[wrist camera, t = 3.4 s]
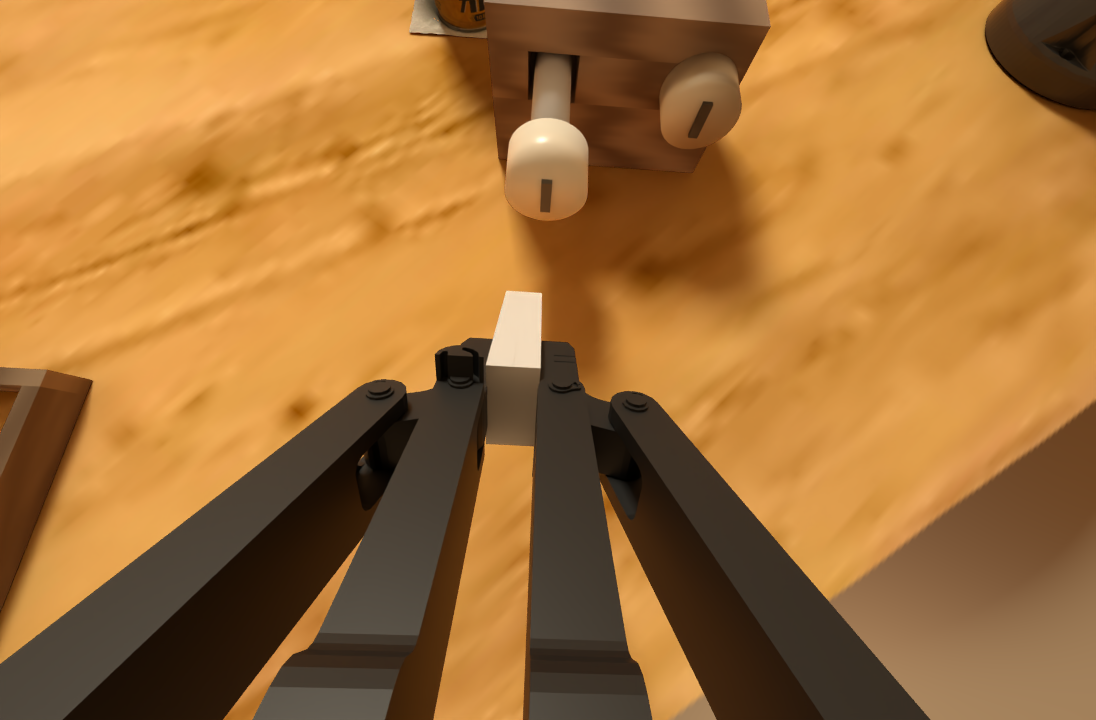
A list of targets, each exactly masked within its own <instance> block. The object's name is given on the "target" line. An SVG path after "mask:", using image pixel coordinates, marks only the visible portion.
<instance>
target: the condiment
mask: <svg viewBox="0 0 1096 720" xmlns="http://www.w3.org/2000/svg"><path fill="white" fill-rule="evenodd" d="M434 18H435V19H434ZM437 20H439V21H437ZM409 32H413V33H416V32H420V33H427V34H428V33H434V34H445V35H454V36H460V37H474V38H475V37H477V38H487V29H486V18H485V7H484V0H415V3H414V11H413V14H412V21H411V25H410V31H409Z"/></svg>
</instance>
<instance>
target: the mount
mask: <svg viewBox="0 0 1096 720" xmlns="http://www.w3.org/2000/svg"><path fill="white" fill-rule="evenodd" d="M484 7H485V18H486V29H487V40H488V50H489V61H490V72H491V83H492V93H493V104H494V115H495V126H496V136H497V147H498V158H499V159H507V158H508V147H509V142H510V139H511V137H512V135H513V133H514V132H515V131H516V130H517V129H518V128H519V127H520V126H522V125H523V124H525V123H527V122H529V121H531V112H532V99H533V86H534V72H535V59H536V52H544V53H556V54H569V55H572V70H571V96H570V123H569V124H571V125H573V126H574V127H576V128H577V129H578V130H579V131H580V132H581V133H582V134H583V136H584V138H585V139H586V142H587V145H588V165H592V166H605V167H619V168H633V169H646V170H660V171H674V172H687V173H693V171H694V169H695V167H696V166H697V164H698V162H699V160H700V158H701V156H702V154H703V152H704V151H705V149H706V147H707V146H708V145H710V144H712V143H714V142H716V141H718V140H719V139H721V138H722V137H724V136H725V135H726V134H727V133H728V132H729V131H730V130H731V129H732V128H733V127H734V125H735V124H736V122H737V121H738V119H739V116H740V113H741V108H742V103H741V96H740V88H739V85H740V83H741V81H742V79H743V77H744V75H745V74H746V72H747V70H748V68H749V66H750V64H751V62H752V60H753V59H754V57H755V55H756V53H757V51H758V49H759V47H760V45H761V44H762V42H763V40H764V38H765V36H766V34H767V32H768V30H769V29H770V27H771V26H770V20H769V14H768V9H767V3H766V0H484Z"/></svg>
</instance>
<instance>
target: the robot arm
mask: <svg viewBox="0 0 1096 720" xmlns="http://www.w3.org/2000/svg"><path fill="white" fill-rule="evenodd" d="M985 30H986V38H987V41H988V44H989V46H990V49H991V50H992V52H993V54H994V55H995V57H996V58H997V60H998V61H999V62H1000V64H1001V65H1002V66H1003V67H1004V68H1005V69H1006V70H1007V71H1008V72H1009V73H1010V74H1011V75H1012V76H1013V77H1014V78H1016V79H1017V80H1018V81H1020V82H1021V83H1022V84H1024V85H1025V86H1027V87H1028V88H1030V89H1031V90H1033V91H1035V92H1037V93H1038V94H1040V95H1042V96H1044V97H1047V98H1049V99H1051V100H1054V101H1056V102H1059V103H1062V104H1065V105H1069V106H1073V107H1077V108H1083V109H1094V110H1096V0H1002V1H1001V2H1000V3H999V4H998V5H997V6H996V7H995V8H994V9H993V10H992V12H991V13H990V14H989V16H988V18H987V21H986V28H985ZM541 316H542V293H533V292H517V291H506V294H505V297H504V301H503V305H502V308H501V312H500V315H499V319H498V323H497V326H496V330H495V333H494V337H493V339H483V338H469V339H467V340H466V341H464V342H463V343H462V344H461V345H456V346H450V347H445V348H443V349H441V350H439V351H438V352H437V353H436V354H435V364H436V378H437V381H436V383H435V385H434V387H433V389H430V390H427V391H421V392H414V393H406V386H405V385H404V384H402V383H401V382H398V381H395V380H387V379H381V380H375V381H372V382H369V383H366V384H364V385H362V386H360V387H358V388H357V389H356V390H354V391H353V392H352V393H350V394H349V395H348V396H347V397H345V398H344V399H343V400H341V401H340V402H339V403H338V404H336V405H335V406H334V407H332V408H331V409H330V410H328V411H327V412H326V413H325V414H323V415H322V416H321V417H319V418H318V419H317V420H316V421H314V422H313V423H312V424H310V425H309V426H308V427H306V428H305V429H304V430H303V431H301V432H300V433H299V434H297V435H296V436H295V437H294V438H292V439H291V440H290V441H288V442H287V443H286V444H284V445H283V446H282V447H281V448H279V449H278V450H277V451H275V452H274V453H273V454H272V455H270V456H269V457H268V458H266V459H265V460H264V461H262V462H261V463H260V464H259V465H257V466H256V467H255V468H253V469H252V470H251V471H250V472H248V473H247V474H246V475H244V476H243V477H242V478H240V479H239V480H238V481H237V482H235V483H234V484H233V485H231V486H230V487H229V488H228V489H226V490H225V491H224V492H222V493H221V494H220V495H218V496H217V497H216V498H215V499H213V500H212V501H211V502H209V503H208V504H207V505H206V506H204V507H203V508H202V509H200V510H199V511H198V512H196V513H195V514H194V515H193V516H191V517H190V518H189V519H187V520H186V521H185V522H183V523H182V524H181V525H180V526H178V527H177V528H176V529H174V530H173V531H172V532H171V533H169V534H168V535H167V536H165V537H164V538H163V539H161V540H160V541H159V542H158V543H156V544H155V545H154V546H152V547H151V548H150V549H149V550H147V551H146V552H145V553H143V554H142V555H141V556H139V557H138V558H137V559H136V560H134V561H133V562H132V563H130V564H129V565H128V566H127V567H125V568H124V569H123V570H121V571H120V572H119V573H117V574H116V575H115V576H114V577H112V578H111V579H110V580H108V581H107V582H106V583H105V584H103V585H102V586H101V587H99V588H98V589H97V590H95V591H94V592H93V593H92V594H90V595H89V596H88V597H86V598H85V599H84V600H83V601H81V602H80V603H79V604H77V605H76V606H75V607H73V608H72V609H71V610H70V611H68V612H67V613H66V614H64V615H63V616H62V617H61V618H59V619H58V620H57V621H55V622H54V623H53V624H51V625H50V626H49V627H48V628H46V629H45V630H44V631H42V632H41V633H40V634H39V635H37V636H36V637H35V638H33V639H32V640H31V641H29V642H28V643H27V644H26V645H24V646H23V647H22V648H20V649H19V650H18V651H17V652H15V653H14V654H13V655H11V656H10V657H9V658H7V659H6V660H5V661H4V662H2V663H1V664H0V720H223V719H224V717H225V716H226V715H227V714H228V712H229V711H230V710H231V708H232V707H233V706H234V704H235V703H236V702H237V701H238V699H239V698H240V697H241V695H242V694H243V693H244V691H245V690H246V689H247V687H248V686H249V685H250V684H251V682H252V681H253V680H254V678H255V677H256V676H257V674H258V673H259V672H260V671H261V669H262V668H263V667H264V665H265V664H266V663H267V661H268V660H269V659H270V658H271V656H272V655H273V654H274V652H275V651H276V650H277V648H278V647H279V646H280V644H281V643H282V642H283V641H284V639H285V638H286V637H287V635H288V634H289V633H290V631H291V630H292V629H293V628H294V626H295V625H296V624H297V622H298V621H299V620H300V618H301V617H302V616H303V614H304V613H305V612H306V611H307V609H308V608H309V607H310V605H311V604H312V603H313V601H314V600H315V599H316V598H317V596H318V595H319V594H320V592H321V591H322V590H323V588H324V587H325V586H326V584H327V583H328V582H329V581H330V579H331V578H332V577H333V575H334V574H335V573H336V571H337V570H338V569H339V568H340V566H341V565H342V564H343V562H344V561H345V560H346V558H347V557H348V556H349V554H350V553H351V552H352V551H353V549H354V548H355V547H356V545H357V544H358V543H359V541H360V540H361V539H362V538H363V539H362V541H361V543H360V545H359V547H358V550H357V552H356V554H355V556H354V558H353V560H352V562H351V564H350V567H349V569H348V571H347V573H346V575H345V577H344V579H343V582H342V584H341V586H340V588H339V590H338V592H337V594H336V596H335V599H334V601H333V603H332V605H331V607H330V609H329V611H328V614H327V616H326V618H325V620H324V622H323V624H322V626H321V628H320V631H319V633H318V634H317V636H316V638H315V640H314V642H313V643H312V644H311V645H310V646H309V648H308V649H306V650H304V651H301V652H298V653H296V654H293V655H292V656H291V657H290V658H289V659H288V660H287V661H286V662H285V664H284V665H283V666H282V667H281V669H280V670H279V672H278V673H277V675H276V677H275V678H274V680H273V682H272V683H271V685H270V687H269V689H268V691H267V693H266V694H265V696H264V698H263V700H262V702H261V704H260V706H259V708H258V710H257V712H256V714H255V716H254V718H253V720H433V718H434V713H435V707H436V702H437V697H438V692H439V687H440V682H441V677H442V671H443V666H444V661H445V656H446V651H447V646H448V641H449V635H450V630H451V625H452V620H453V615H454V610H455V605H456V599H457V594H458V589H459V584H460V579H461V574H462V569H463V563H464V558H465V553H466V548H467V543H468V538H469V533H470V527H471V522H472V517H473V512H474V507H475V502H476V497H477V491H478V486H479V481H480V476H481V471H482V466H483V461H484V455H485V453H484V441H485V437H486V444H499V445H520V446H534V458H533V473H532V477H533V484H532V508H531V533H530V558H529V583H528V608H527V633H526V658H525V682H524V707H523V720H652V716H651V710H650V705H649V700H648V694H647V690H646V686H645V682H644V678H643V674H642V672H641V669H640V667H639V664H638V663H637V662H636V661H634V660H633V659H632V658H631V656H630V654H629V651H628V646H627V642H626V636H625V630H624V624H623V618H622V612H621V605H620V599H619V593H618V587H617V581H616V575H615V569H614V563H613V557H612V551H611V545H610V539H609V533H608V527H607V521H606V515H605V509H604V503H603V497H602V490H601V484H602V486H603V488H604V490H605V492H606V494H607V496H608V498H609V500H610V502H611V504H612V506H613V508H614V510H615V512H616V514H617V516H618V518H619V520H620V523H621V525H622V527H623V529H624V531H625V533H626V535H627V537H628V539H629V541H630V543H631V545H632V547H633V549H634V551H635V553H636V555H637V557H638V559H639V561H640V563H641V565H642V568H643V570H644V572H645V574H646V576H647V578H648V580H649V582H650V584H651V586H652V588H653V590H654V592H655V594H656V596H657V598H658V600H659V602H660V604H661V606H662V608H663V610H664V613H665V615H666V617H667V619H668V621H669V623H670V625H671V627H672V629H673V631H674V633H675V635H676V637H677V639H678V641H679V643H680V645H681V647H682V649H683V651H684V653H685V655H686V658H687V660H688V662H689V664H690V666H691V668H692V670H693V672H694V674H695V676H696V678H697V680H698V682H699V684H700V686H701V688H702V690H703V692H704V694H705V696H706V698H707V700H708V702H709V705H710V706H711V709H712V711H713V713H714V715H715V717H716V719H717V720H930V719H929V718H928V716H927V715H926V714H925V713H924V712H923V711H922V710H921V708H920V707H919V706H918V705H917V704H916V703H915V701H914V700H913V699H912V698H911V697H910V696H909V694H908V693H907V692H906V691H905V690H904V689H903V687H902V686H901V685H900V684H899V683H898V682H897V681H896V679H895V678H894V677H893V676H892V675H891V673H890V672H889V671H888V670H887V669H886V668H885V667H884V665H883V664H882V663H881V662H880V661H879V660H878V658H877V657H876V656H875V655H874V654H873V653H872V651H871V650H870V649H869V648H868V647H867V646H866V644H865V643H864V642H863V641H862V640H861V639H860V637H859V636H858V635H857V634H856V633H855V632H854V631H853V629H852V628H851V627H850V626H849V625H848V624H847V622H846V621H845V620H844V619H843V618H842V616H841V615H840V614H839V613H838V612H837V611H836V609H835V608H834V607H833V606H832V605H831V604H830V603H829V601H828V600H827V599H826V598H825V597H824V596H823V594H822V593H821V592H820V591H819V590H818V589H817V587H816V586H815V585H814V584H813V583H812V582H811V580H810V579H809V578H808V577H807V576H806V575H805V573H804V572H803V571H802V570H801V569H800V568H799V566H798V565H797V564H796V563H795V562H794V561H793V560H792V558H791V557H790V556H789V555H788V554H787V553H786V551H785V550H784V549H783V548H782V547H781V546H780V544H779V543H778V542H777V541H776V540H775V539H774V537H773V536H772V535H771V534H770V533H769V532H768V530H767V529H766V528H765V527H764V526H763V525H762V523H761V522H760V521H759V520H758V519H757V518H756V516H755V515H754V514H753V513H752V512H751V511H750V510H749V508H748V507H747V506H746V505H745V504H744V503H743V501H742V500H741V499H740V498H739V497H738V496H737V494H736V493H735V492H734V491H733V490H732V489H731V487H730V486H729V485H728V484H727V483H726V482H725V480H724V479H723V478H722V477H721V476H720V475H719V473H718V472H717V471H716V470H715V469H714V468H713V466H712V465H711V464H710V463H709V462H708V461H707V460H706V458H705V457H704V456H703V455H702V454H701V453H700V451H699V450H698V449H697V448H696V447H695V446H694V444H693V443H692V442H691V441H690V440H689V439H688V437H687V436H686V435H685V434H684V433H683V432H682V430H681V429H680V428H679V427H678V426H677V425H676V423H675V422H674V421H673V420H672V419H671V418H670V417H669V415H668V414H667V413H666V412H665V411H664V410H663V408H662V407H661V406H660V405H659V404H658V403H657V402H656V401H655V400H654V399H653V398H651V397H649V396H647V395H645V394H643V393H640V392H639V393H638V392H634V391H632V392H631V391H624V392H620V393H617V394H615V395H614V396H613V397H612V399H611V402H607V401H603V400H599V399H596V398H594V397H591V396H589V395H588V394H586V393H585V388H584V386H583V384H582V383H581V382H579V377H578V370H577V364H576V358H575V351H574V348H573V347H572V346H571V345H570V344H569V343H568V342H552V341H541ZM363 455H364V456H363ZM362 456H363V457H362ZM361 457H362V458H361ZM600 482H601V484H600ZM363 536H364V537H363Z"/></svg>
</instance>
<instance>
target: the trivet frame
mask: <svg viewBox="0 0 1096 720" xmlns="http://www.w3.org/2000/svg"><path fill="white" fill-rule="evenodd" d="M91 382H92V380H89V379H85V378H80V377H76V376H72V375H67V374H63V373H59V372H54V371H50V370H41V369H23V368H5V367H0V391H12V392H19V393H18V395H17V397H16V400H15V402H14V404H13V406H12V409H11V411H10V413H9V415H8V417H7V420H6V422H5V424H4V426H3V429H2V431H1V433H0V611H1V609H2V606H3V604H4V601H5V599H6V596H7V594H8V591H9V589H10V586H11V584H12V581H13V579H14V576H15V574H16V571H17V568H18V566H19V563H20V561H21V558H22V556H23V553H24V551H25V548H26V546H27V543H28V541H29V538H30V536H31V533H32V531H33V528H34V526H35V523H36V521H37V518H38V516H39V513H40V511H41V508H42V506H43V503H44V501H45V498H46V496H47V493H48V491H49V488H50V485H51V483H52V480H53V478H54V475H55V473H56V470H57V468H58V465H59V463H60V460H61V458H62V455H63V453H64V450H65V448H66V445H67V443H68V440H69V438H70V435H71V433H72V430H73V428H74V425H75V423H76V420H77V418H78V415H79V413H80V410H81V408H82V405H83V402H84V400H85V397H86V395H87V392H88V390H89V387H90V385H91Z"/></svg>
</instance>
